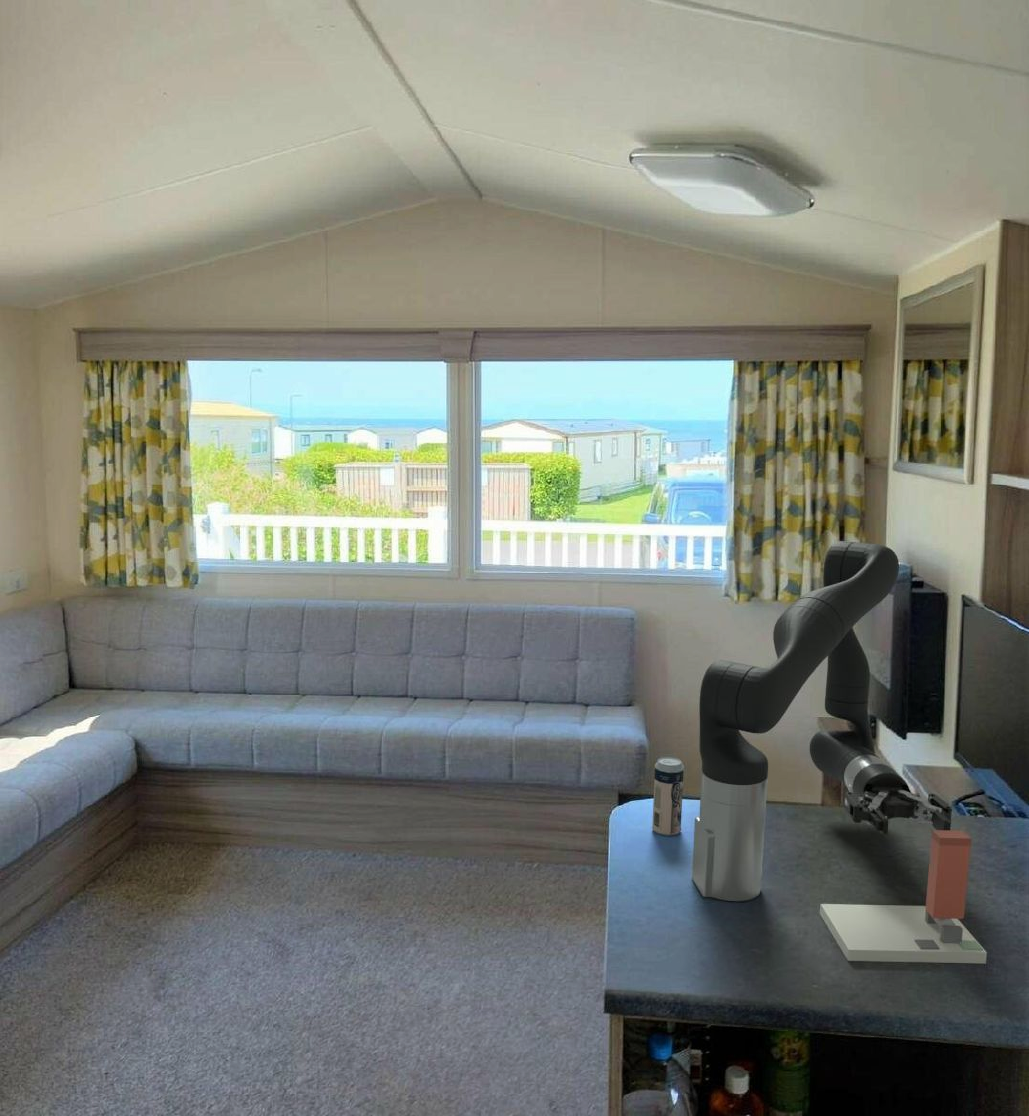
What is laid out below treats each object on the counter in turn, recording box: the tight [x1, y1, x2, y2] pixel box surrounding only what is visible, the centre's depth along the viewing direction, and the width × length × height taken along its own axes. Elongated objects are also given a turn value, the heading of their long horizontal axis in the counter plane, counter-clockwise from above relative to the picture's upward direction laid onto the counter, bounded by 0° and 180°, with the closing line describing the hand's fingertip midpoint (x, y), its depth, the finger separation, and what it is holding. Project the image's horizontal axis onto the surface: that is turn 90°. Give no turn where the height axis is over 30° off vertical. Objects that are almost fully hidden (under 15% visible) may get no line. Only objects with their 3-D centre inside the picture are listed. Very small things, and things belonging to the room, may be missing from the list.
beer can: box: [651, 756, 685, 837], centre depth 167 cm, size 5×5×12 cm
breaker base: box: [819, 903, 988, 965], centre depth 135 cm, size 18×12×4 cm
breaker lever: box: [925, 829, 972, 928], centre depth 133 cm, size 4×3×13 cm
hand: (916, 828), depth 144 cm, fingers open, 8 cm apart
